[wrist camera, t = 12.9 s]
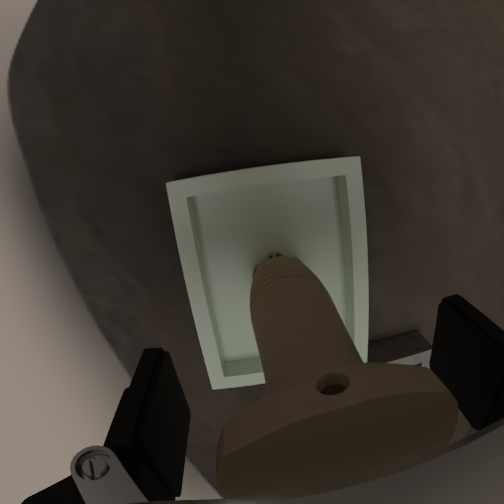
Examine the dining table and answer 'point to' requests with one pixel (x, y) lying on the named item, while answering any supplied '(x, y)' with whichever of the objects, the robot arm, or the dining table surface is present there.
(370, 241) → the dining table surface
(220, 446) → the handle
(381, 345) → the socket collar
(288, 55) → the dining table surface
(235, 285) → the tray
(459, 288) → the dining table surface
